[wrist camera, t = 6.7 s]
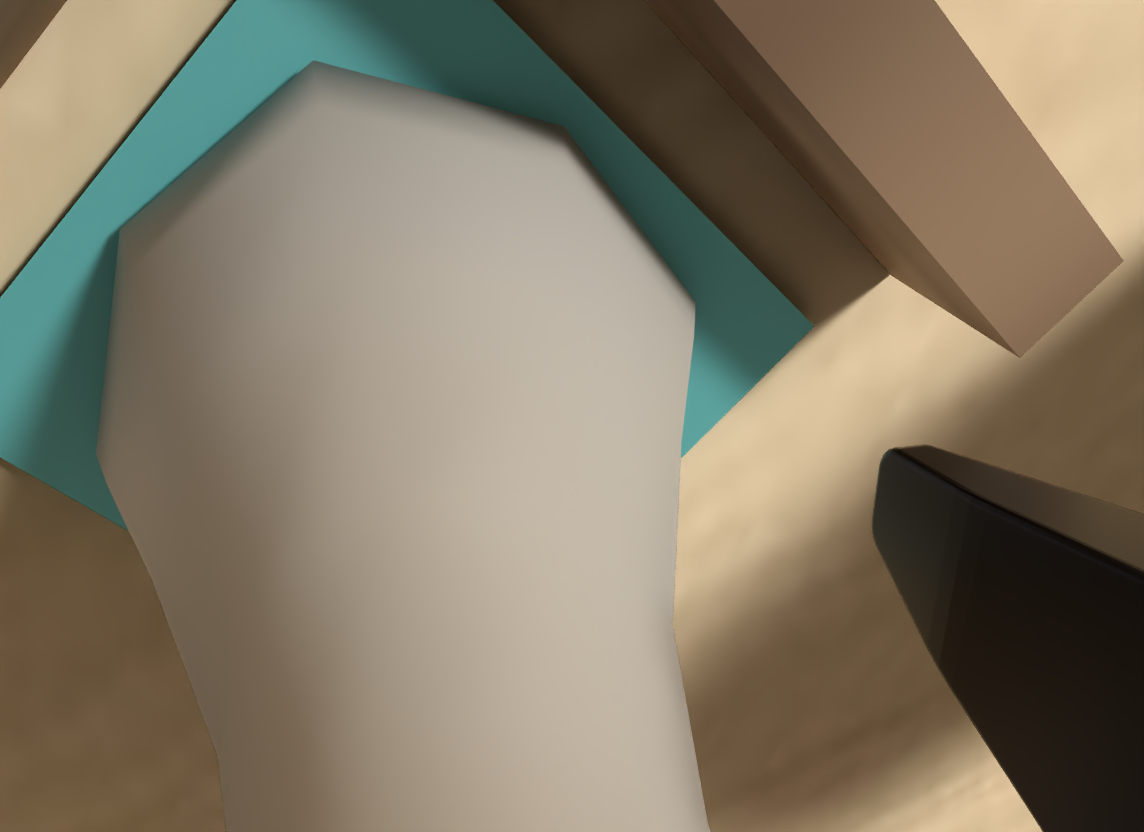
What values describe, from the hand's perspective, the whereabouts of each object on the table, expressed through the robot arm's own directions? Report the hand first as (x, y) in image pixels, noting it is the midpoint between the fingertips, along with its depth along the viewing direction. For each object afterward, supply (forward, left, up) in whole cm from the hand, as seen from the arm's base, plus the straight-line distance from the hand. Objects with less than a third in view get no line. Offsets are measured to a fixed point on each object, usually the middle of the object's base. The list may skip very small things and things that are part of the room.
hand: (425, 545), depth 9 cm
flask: (0, 0, -4) cm, 4 cm away
